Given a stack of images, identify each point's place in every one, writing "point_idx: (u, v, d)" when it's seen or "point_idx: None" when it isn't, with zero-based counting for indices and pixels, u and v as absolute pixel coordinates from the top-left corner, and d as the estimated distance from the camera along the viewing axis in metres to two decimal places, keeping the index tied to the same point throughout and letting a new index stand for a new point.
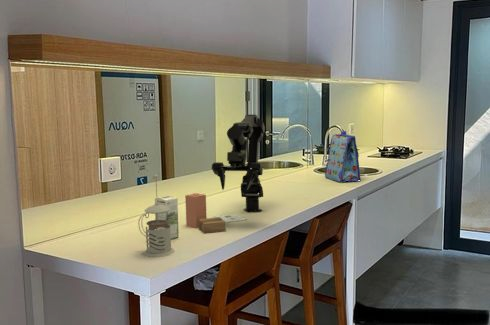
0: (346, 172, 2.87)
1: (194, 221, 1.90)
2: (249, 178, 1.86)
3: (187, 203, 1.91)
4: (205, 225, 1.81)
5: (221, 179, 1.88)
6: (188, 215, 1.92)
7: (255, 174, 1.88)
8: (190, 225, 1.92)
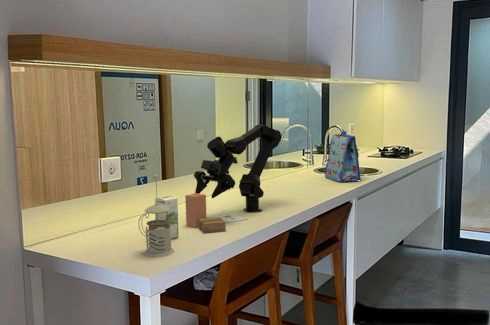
0: (346, 172, 2.87)
1: (194, 221, 1.90)
2: (216, 187, 1.93)
3: (187, 203, 1.91)
4: (205, 225, 1.81)
5: (197, 186, 2.00)
6: (188, 215, 1.92)
7: (225, 185, 1.94)
8: (190, 225, 1.92)
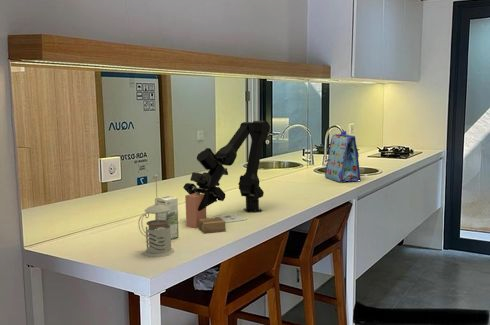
0: (346, 172, 2.87)
1: (194, 221, 1.90)
2: (203, 200, 1.90)
3: (187, 203, 1.91)
4: (205, 225, 1.81)
5: None
6: (188, 215, 1.92)
7: (212, 198, 1.91)
8: (190, 225, 1.92)
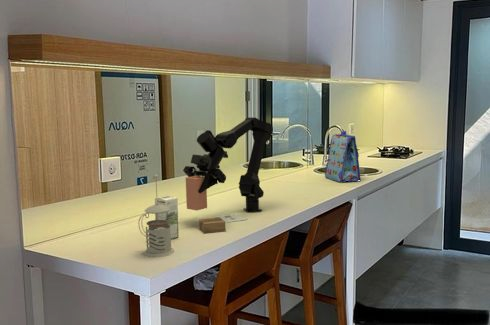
0: (346, 172, 2.87)
1: (194, 203, 1.88)
2: (204, 182, 1.89)
3: (187, 185, 1.90)
4: (205, 225, 1.81)
5: None
6: (188, 198, 1.90)
7: (212, 180, 1.90)
8: (190, 207, 1.90)
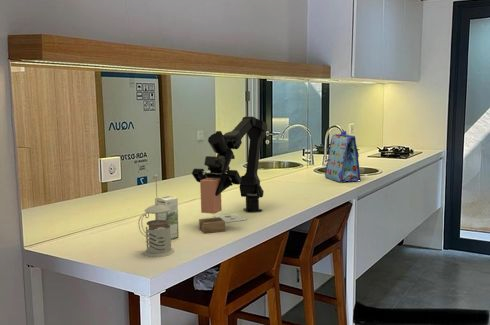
0: (346, 172, 2.87)
1: (211, 206, 1.82)
2: (220, 184, 1.83)
3: (202, 188, 1.83)
4: (205, 225, 1.81)
5: None
6: (203, 201, 1.84)
7: (228, 182, 1.85)
8: (206, 211, 1.84)
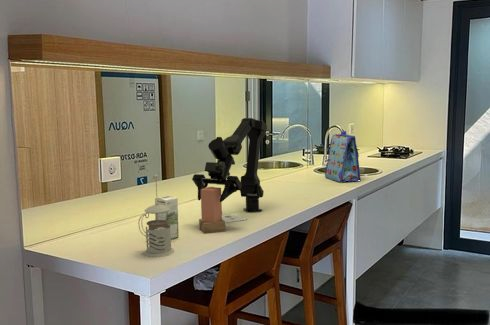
0: (346, 172, 2.87)
1: (212, 215, 1.83)
2: (224, 190, 1.83)
3: (203, 197, 1.83)
4: (205, 225, 1.81)
5: (199, 190, 1.87)
6: (204, 210, 1.84)
7: (232, 188, 1.85)
8: (206, 220, 1.84)
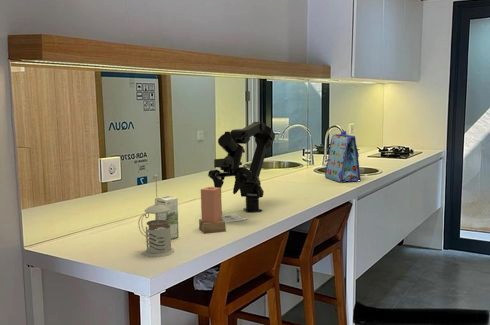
0: (346, 172, 2.87)
1: (212, 215, 1.83)
2: (236, 182, 1.92)
3: (203, 197, 1.83)
4: (205, 225, 1.81)
5: (215, 185, 1.99)
6: (204, 210, 1.84)
7: (243, 178, 1.93)
8: (206, 220, 1.84)
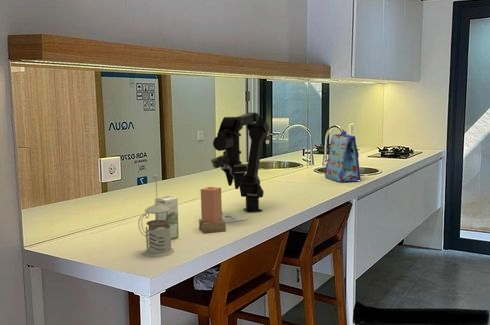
0: (346, 172, 2.87)
1: (212, 215, 1.83)
2: (234, 179, 1.95)
3: (203, 197, 1.83)
4: (205, 225, 1.81)
5: (226, 177, 2.05)
6: (204, 210, 1.84)
7: (239, 173, 1.94)
8: (206, 220, 1.84)
